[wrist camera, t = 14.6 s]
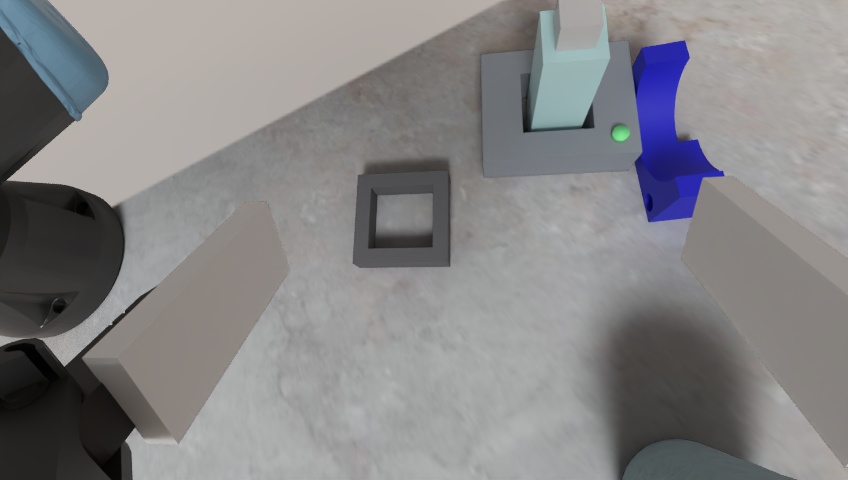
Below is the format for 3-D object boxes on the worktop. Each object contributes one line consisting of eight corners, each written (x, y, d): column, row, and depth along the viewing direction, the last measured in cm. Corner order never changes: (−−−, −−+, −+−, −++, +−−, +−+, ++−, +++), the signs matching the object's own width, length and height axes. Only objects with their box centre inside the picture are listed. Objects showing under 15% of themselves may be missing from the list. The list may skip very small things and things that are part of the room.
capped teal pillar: (528, 145, 36) (547, 41, 24) (526, 105, 37) (543, -15, 25) (575, 142, 35) (620, 34, 23) (571, 102, 36) (613, -23, 24)
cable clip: (707, 215, 32) (753, 188, 27) (647, 222, 33) (680, 197, 27) (672, 86, 35) (706, 36, 30) (618, 94, 36) (641, 47, 30)
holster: (360, 267, 36) (352, 263, 34) (364, 183, 38) (358, 174, 36) (450, 266, 35) (447, 262, 33) (450, 179, 36) (448, 170, 35)
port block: (483, 177, 36) (482, 158, 32) (481, 79, 38) (480, 50, 35) (627, 170, 34) (644, 149, 30) (615, 68, 37) (630, 36, 33)
